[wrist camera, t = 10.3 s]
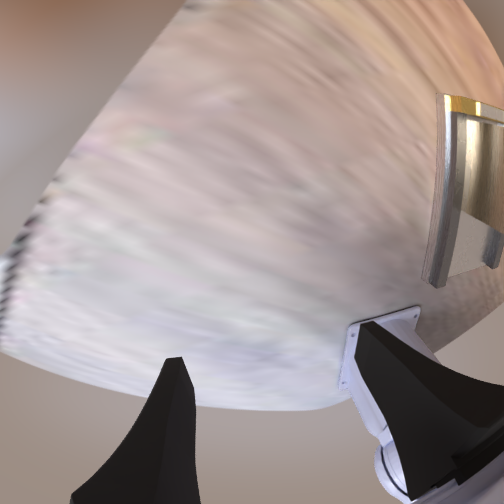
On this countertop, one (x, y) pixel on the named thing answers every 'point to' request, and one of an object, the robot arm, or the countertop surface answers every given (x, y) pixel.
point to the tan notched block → (487, 175)
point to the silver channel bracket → (458, 195)
